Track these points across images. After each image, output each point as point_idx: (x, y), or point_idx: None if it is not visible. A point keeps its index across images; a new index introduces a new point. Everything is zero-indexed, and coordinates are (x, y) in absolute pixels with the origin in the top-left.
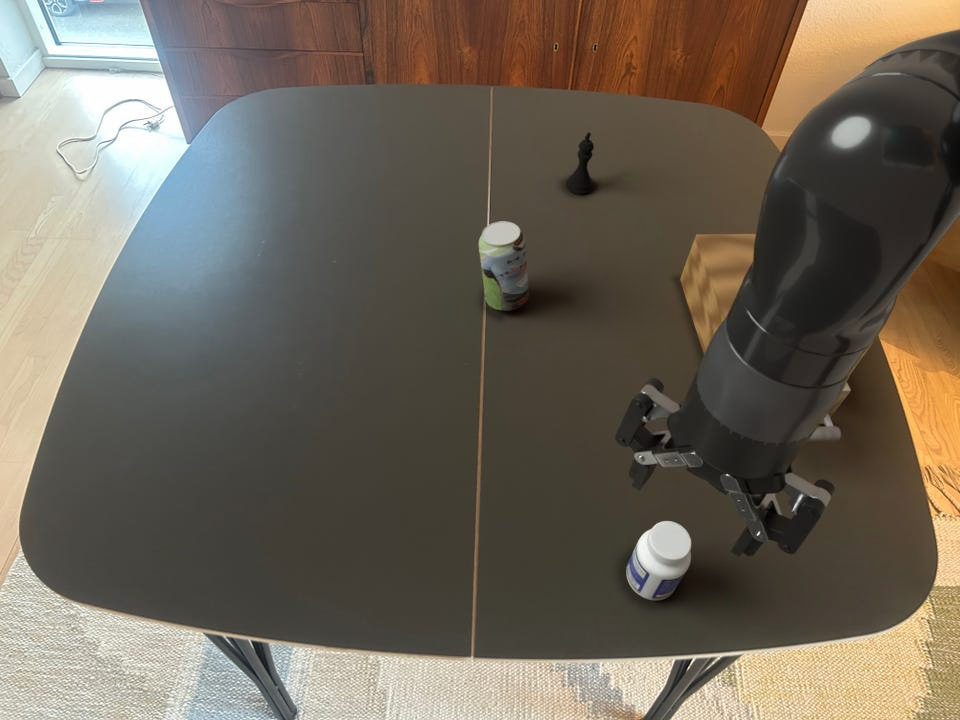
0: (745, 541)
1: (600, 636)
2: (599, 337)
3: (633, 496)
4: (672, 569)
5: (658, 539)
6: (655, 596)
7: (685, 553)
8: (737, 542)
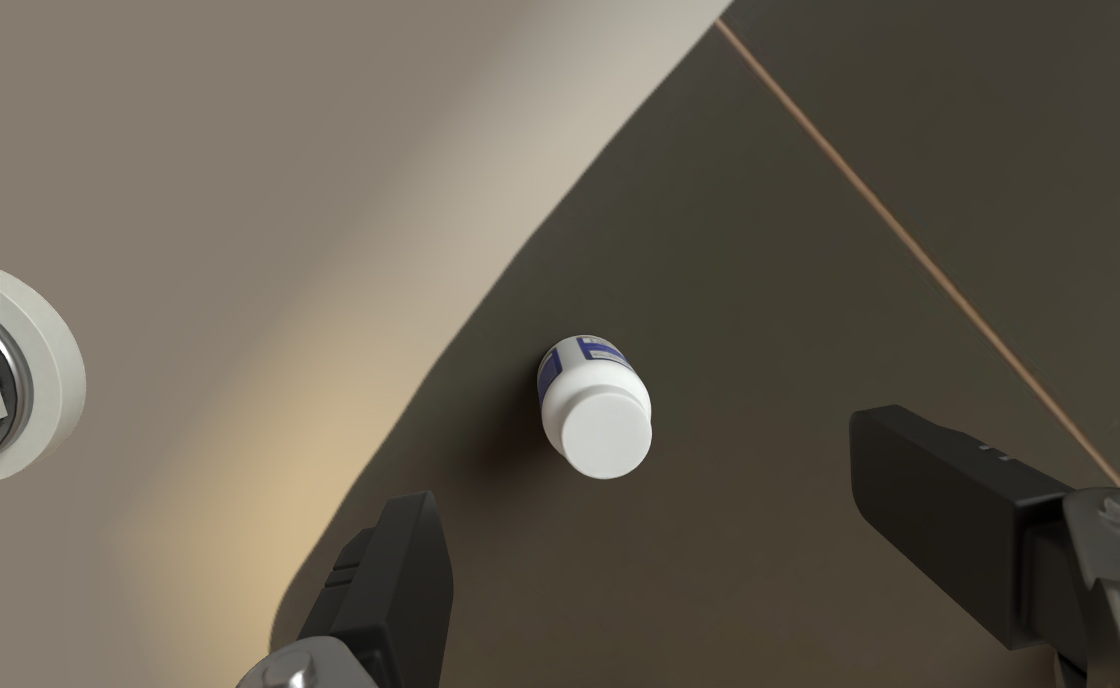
0: (374, 576)
1: (571, 227)
2: (953, 652)
3: (701, 466)
4: (562, 398)
5: (625, 417)
6: (552, 352)
7: (565, 438)
8: (411, 542)
